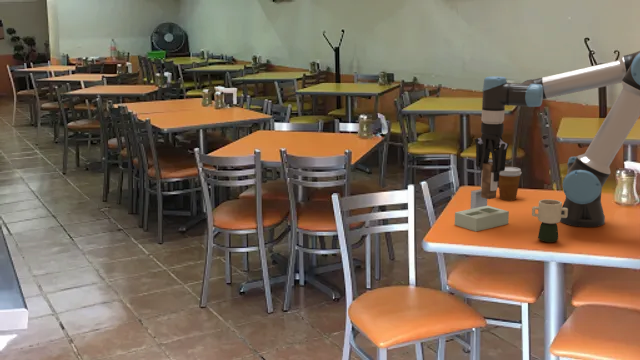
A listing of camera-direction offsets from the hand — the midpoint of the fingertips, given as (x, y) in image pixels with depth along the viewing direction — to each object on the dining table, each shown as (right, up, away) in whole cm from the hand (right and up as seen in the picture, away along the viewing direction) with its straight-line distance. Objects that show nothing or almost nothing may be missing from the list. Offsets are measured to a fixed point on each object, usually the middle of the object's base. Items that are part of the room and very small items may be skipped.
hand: (488, 189), depth 254 cm
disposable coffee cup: (+16, -4, +37) cm, 40 cm away
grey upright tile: (-1, -9, +14) cm, 17 cm away
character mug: (+15, -17, -19) cm, 29 cm away
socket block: (-2, -12, +1) cm, 13 cm away
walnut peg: (0, -3, +1) cm, 3 cm away
